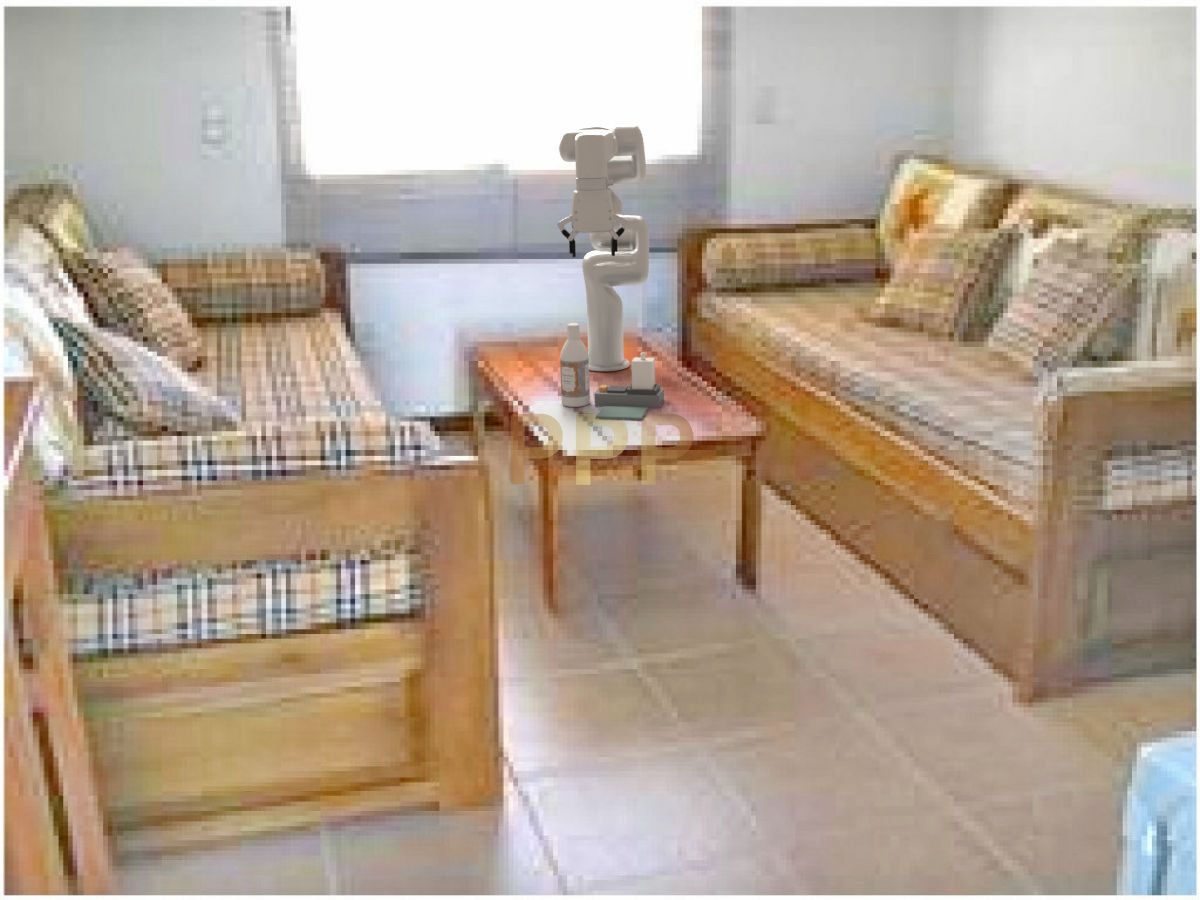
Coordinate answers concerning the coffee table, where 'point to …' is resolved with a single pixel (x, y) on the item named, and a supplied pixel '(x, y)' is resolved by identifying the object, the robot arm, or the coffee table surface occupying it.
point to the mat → (622, 412)
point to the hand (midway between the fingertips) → (593, 255)
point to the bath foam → (574, 370)
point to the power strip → (629, 396)
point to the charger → (643, 372)
